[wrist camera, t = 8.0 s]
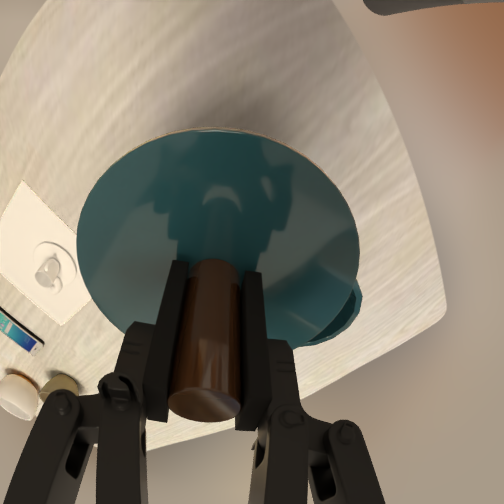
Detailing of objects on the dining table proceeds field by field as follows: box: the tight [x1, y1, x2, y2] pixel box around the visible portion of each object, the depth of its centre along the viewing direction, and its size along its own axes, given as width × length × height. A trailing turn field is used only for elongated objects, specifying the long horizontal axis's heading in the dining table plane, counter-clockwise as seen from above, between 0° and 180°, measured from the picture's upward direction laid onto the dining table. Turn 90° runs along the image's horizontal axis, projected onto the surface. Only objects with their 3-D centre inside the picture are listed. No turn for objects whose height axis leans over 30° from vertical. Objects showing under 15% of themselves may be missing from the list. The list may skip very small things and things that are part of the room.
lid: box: [76, 127, 360, 422], centre depth 13 cm, size 15×15×8 cm
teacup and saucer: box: [32, 242, 77, 295], centre depth 39 cm, size 9×8×4 cm
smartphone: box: [0, 308, 44, 356], centre depth 49 cm, size 7×1×15 cm
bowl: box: [300, 279, 363, 347], centre depth 40 cm, size 14×14×8 cm
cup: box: [0, 374, 38, 421], centre depth 58 cm, size 12×12×10 cm
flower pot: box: [39, 374, 79, 402], centre depth 57 cm, size 10×10×7 cm
